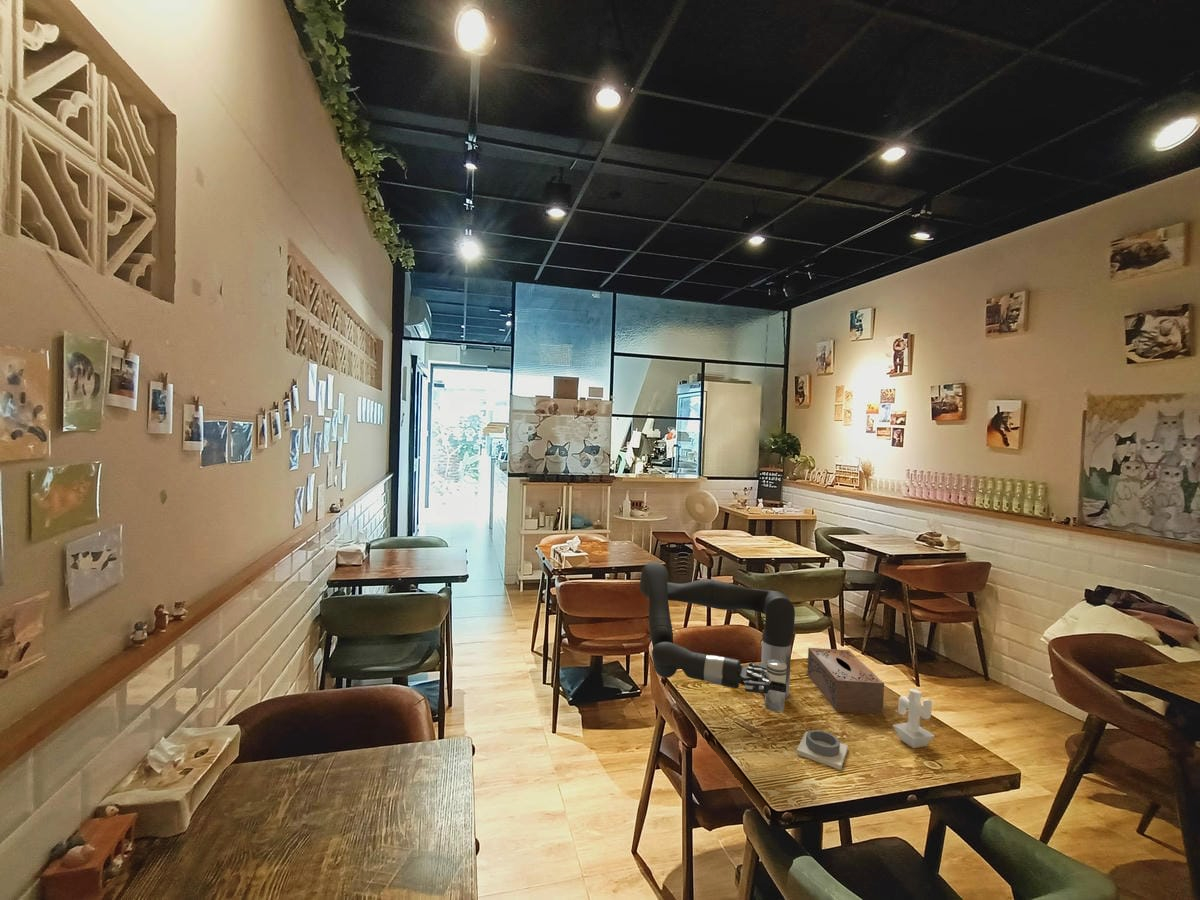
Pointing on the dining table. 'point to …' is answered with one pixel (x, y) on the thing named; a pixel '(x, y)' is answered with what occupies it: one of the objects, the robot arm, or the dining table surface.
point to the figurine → (914, 719)
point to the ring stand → (823, 748)
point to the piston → (777, 674)
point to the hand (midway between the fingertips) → (786, 683)
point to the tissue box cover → (845, 681)
